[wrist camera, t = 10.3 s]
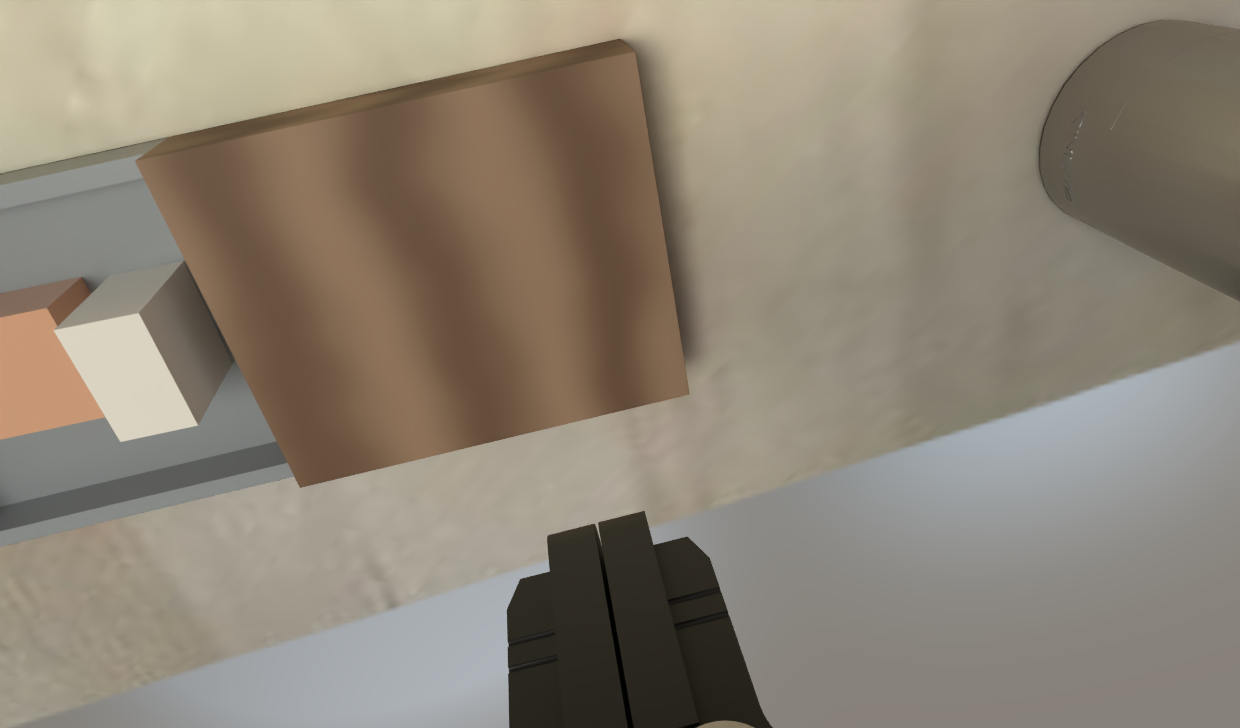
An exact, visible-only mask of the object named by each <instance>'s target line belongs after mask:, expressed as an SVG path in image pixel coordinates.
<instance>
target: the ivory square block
mask: <svg viewBox="0 0 1240 728" xmlns="http://www.w3.org/2000/svg"><path fill="white" fill-rule="evenodd" d="M54 332H55V334H56V335H57V337H58V339H59V340H60V342H61V344H62V345H63V347H64V349H65V350H66V352H67V354H68V355H69V357H70V359H71V360H72V362H73V364H74V365H75V367H76V369H77V370H78V372H79V374H80V375H81V377H82V379H83V380H84V382H85V384H86V385H87V387H88V389H89V390H90V392H91V394H92V395H93V397H94V399H95V400H96V402H97V404H98V405H99V407H100V409H101V410H102V412H103V414H104V415H105V417H106V419H107V420H108V422H109V424H110V425H111V427H112V429H113V430H114V432H115V434H116V435H117V437H118V439H119V440H120V442H123V441H128V440H132V439H137V438H142V437H146V436H151V435H156V434H161V433H165V432H170V431H175V430H179V429H184V428H189V427H194V426H198V425H199V423H200V421H201V419H202V418H203V416H204V414H205V412H206V410H207V409H208V407H209V405H210V403H211V401H212V400H213V398H214V396H215V394H216V392H217V391H218V389H219V387H220V385H221V383H222V382H223V380H224V378H225V376H226V374H227V373H228V371H229V369H230V367H231V365H232V361H231V359H230V357H229V355H228V352H227V350H226V348H225V346H224V344H223V342H222V340H221V338H220V336H219V334H218V331H217V329H216V327H215V325H214V323H213V321H212V319H211V317H210V315H209V313H208V310H207V308H206V306H205V304H204V302H203V300H202V298H201V296H200V294H199V292H198V289H197V287H196V285H195V283H194V281H193V279H192V277H191V275H190V273H189V271H188V269H187V266H186V264H185V262H184V261H180V262H175V263H170V264H165V265H160V266H155V267H150V268H145V269H140V270H135V271H130V272H125V273H120V274H115V275H110V276H109V277H108V278H107V279H106V280H105V281H104V282H103V283H102V284H101V285H100V286H99V287H98V288H97V289H96V290H95V291H94V292H93V293H92V294H91V295H89V296H88V297H87V298H86V299H85V300H84V301H83V302H82V303H81V304H80V305H79V306H78V307H77V308H76V309H75V310H74V311H73V312H72V313H71V314H70V315H69V316H68V317H67V318H66V319H65V320H64V321H63V322H62V323H61V324H59V325H58V326H57V327H56V328H55V329H54Z"/></svg>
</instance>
